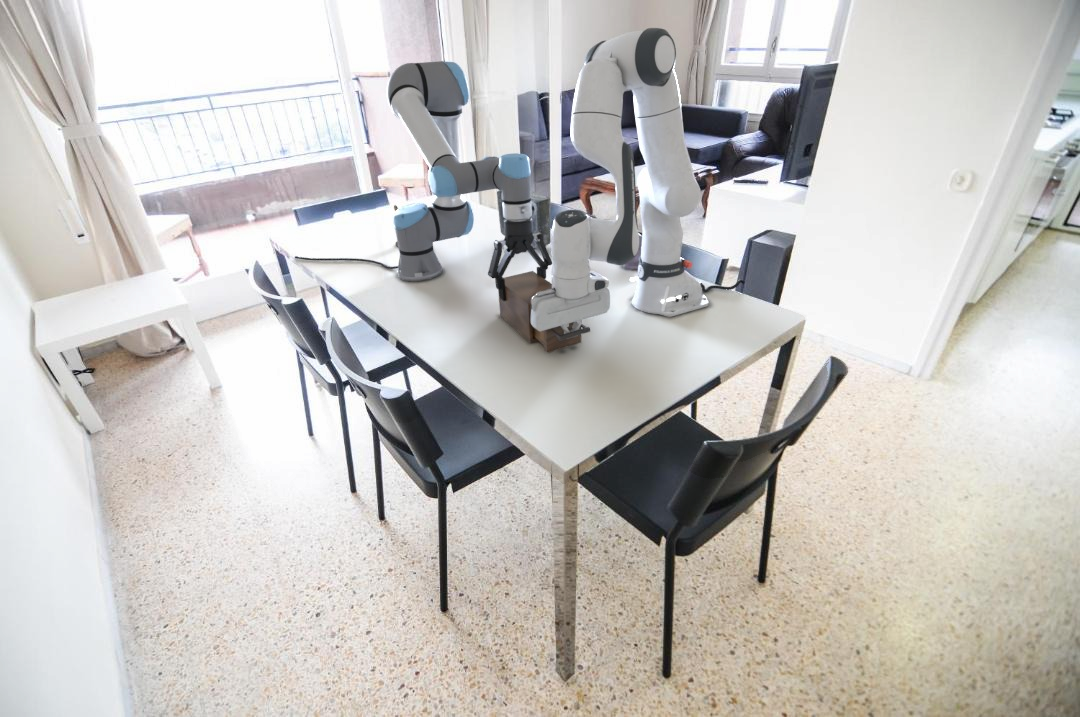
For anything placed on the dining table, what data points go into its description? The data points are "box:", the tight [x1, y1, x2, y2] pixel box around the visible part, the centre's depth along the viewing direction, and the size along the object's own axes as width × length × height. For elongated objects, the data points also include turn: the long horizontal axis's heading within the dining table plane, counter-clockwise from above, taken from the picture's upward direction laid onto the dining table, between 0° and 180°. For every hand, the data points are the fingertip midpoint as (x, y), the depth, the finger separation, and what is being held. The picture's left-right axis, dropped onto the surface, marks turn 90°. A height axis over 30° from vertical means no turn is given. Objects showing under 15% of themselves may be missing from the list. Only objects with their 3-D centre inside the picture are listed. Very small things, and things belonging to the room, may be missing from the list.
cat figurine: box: [621, 232, 642, 271], centre depth 172 cm, size 9×8×12 cm
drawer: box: [533, 322, 591, 354], centre depth 129 cm, size 23×10×10 cm, turn 28°
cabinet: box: [497, 270, 552, 344], centre depth 138 cm, size 19×11×12 cm, turn 28°
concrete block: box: [496, 190, 552, 249], centre depth 194 cm, size 27×9×20 cm, turn 36°
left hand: (522, 294), depth 141 cm, fingers closed on cabinet, 11 cm apart
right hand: (570, 336), depth 122 cm, fingers closed, pressing on drawer
